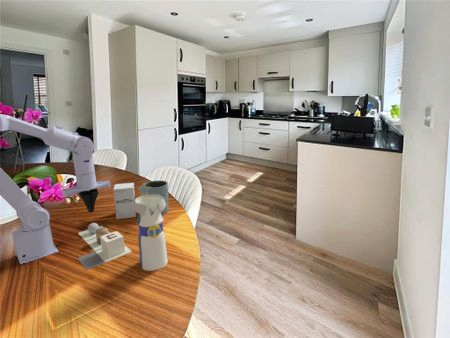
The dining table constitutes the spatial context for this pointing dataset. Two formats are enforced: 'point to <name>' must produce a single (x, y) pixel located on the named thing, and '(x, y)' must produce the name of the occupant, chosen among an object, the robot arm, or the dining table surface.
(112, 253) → the letter cube
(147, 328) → the dining table surface
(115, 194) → the supplement box
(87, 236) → the tile set
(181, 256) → the dining table surface
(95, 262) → the slate mat
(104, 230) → the cork
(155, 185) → the grey plant pot
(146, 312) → the dining table surface
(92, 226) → the grey ball
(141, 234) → the cream belted figurine
